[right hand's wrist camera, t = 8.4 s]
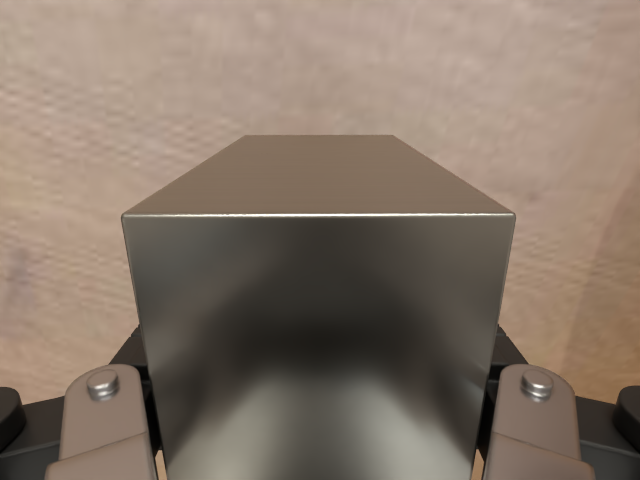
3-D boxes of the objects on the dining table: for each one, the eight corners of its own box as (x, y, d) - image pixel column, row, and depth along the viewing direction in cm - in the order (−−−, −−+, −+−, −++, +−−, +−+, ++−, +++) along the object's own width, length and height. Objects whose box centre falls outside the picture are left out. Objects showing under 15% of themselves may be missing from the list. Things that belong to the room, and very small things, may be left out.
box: (243, 134, 17) (117, 214, 6) (394, 134, 17) (519, 213, 6) (269, 532, 25) (233, 856, 15) (370, 532, 25) (407, 855, 15)
